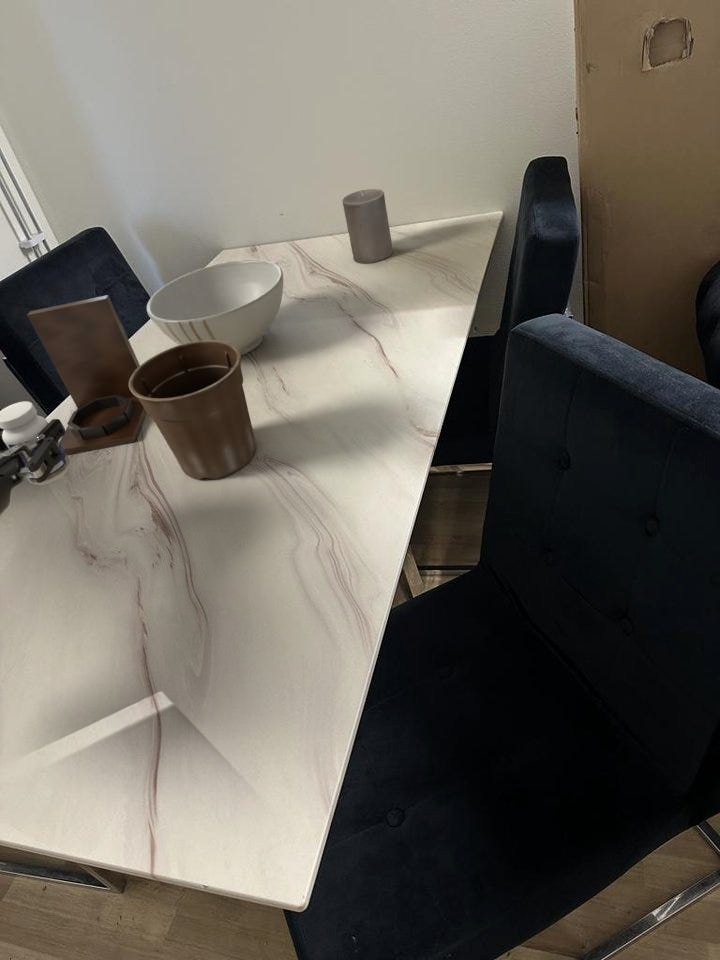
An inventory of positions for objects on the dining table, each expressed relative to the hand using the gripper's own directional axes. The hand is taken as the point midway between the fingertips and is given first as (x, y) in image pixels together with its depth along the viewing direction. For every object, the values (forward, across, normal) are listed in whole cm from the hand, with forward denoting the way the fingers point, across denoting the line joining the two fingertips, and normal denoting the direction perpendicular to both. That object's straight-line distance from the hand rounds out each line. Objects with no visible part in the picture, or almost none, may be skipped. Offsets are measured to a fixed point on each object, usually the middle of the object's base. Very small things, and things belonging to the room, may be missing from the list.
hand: (39, 425), depth 87 cm
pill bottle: (-2, 0, +6) cm, 7 cm away
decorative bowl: (+52, -3, +17) cm, 54 cm away
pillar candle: (+92, -24, +17) cm, 96 cm away
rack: (+24, +12, +17) cm, 32 cm away
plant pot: (+14, -15, +17) cm, 27 cm away
